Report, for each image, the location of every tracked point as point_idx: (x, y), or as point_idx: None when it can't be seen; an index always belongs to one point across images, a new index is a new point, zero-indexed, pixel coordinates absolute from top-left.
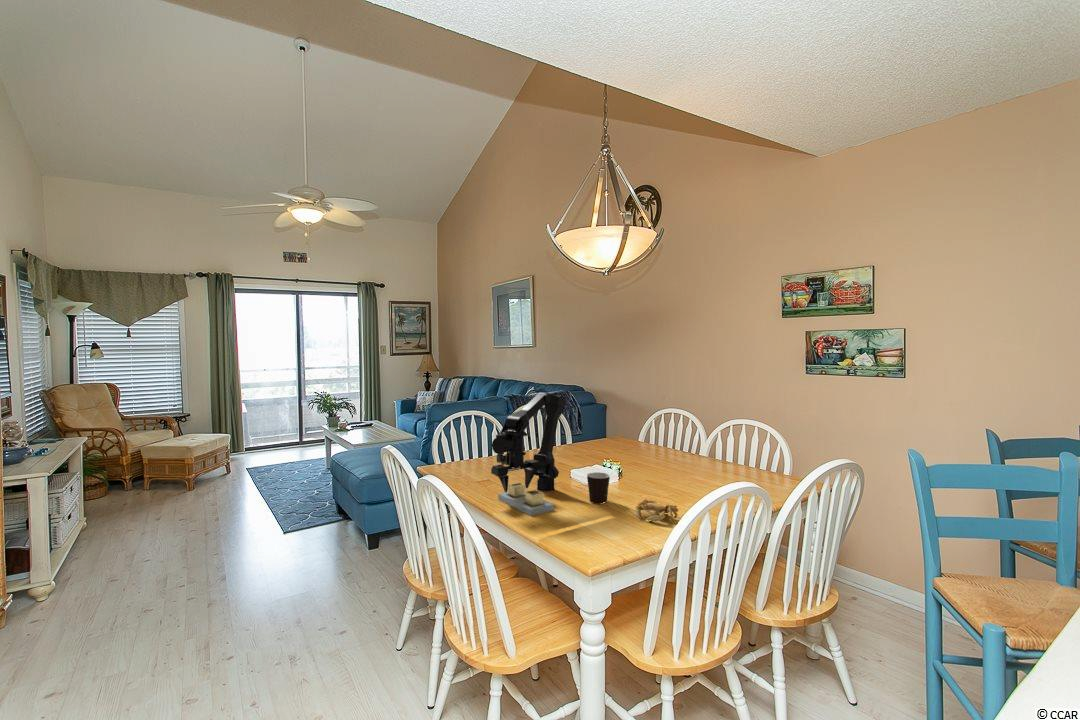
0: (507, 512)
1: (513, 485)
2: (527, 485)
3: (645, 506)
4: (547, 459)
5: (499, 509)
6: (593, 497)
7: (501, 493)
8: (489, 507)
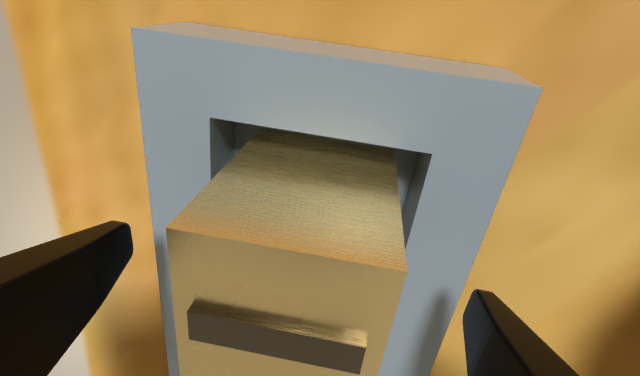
0: (136, 285)
1: (201, 335)
2: (468, 368)
3: None
4: None
5: (108, 204)
6: None
7: (182, 42)
8: (46, 105)
